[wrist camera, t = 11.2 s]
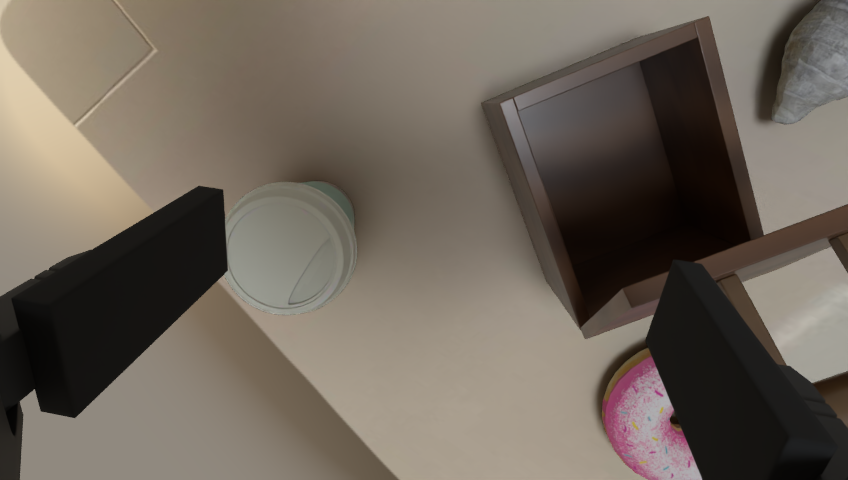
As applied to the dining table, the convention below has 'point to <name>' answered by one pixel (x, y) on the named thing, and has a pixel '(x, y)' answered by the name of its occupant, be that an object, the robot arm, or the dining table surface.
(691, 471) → the donut
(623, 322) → the lid
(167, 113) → the dining table surface
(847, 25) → the seashell
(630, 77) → the chest
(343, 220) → the coffee cup
